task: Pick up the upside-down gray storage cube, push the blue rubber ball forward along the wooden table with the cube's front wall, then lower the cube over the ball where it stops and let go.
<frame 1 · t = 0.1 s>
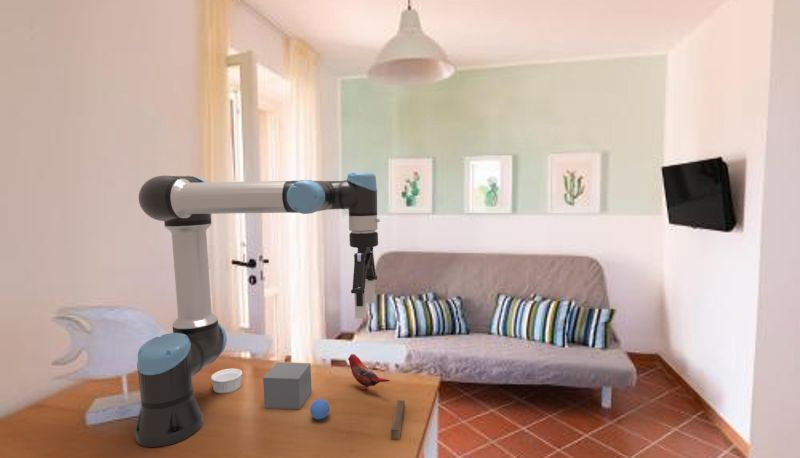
hand: (365, 310, 113), 28 cm above the table, tool pointing down, fingers open, 13 cm apart
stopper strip: (398, 423, 108), on the table
decorative bird figurine: (368, 392, 125), on the table
ramekin: (227, 388, 130), on the table
gray storage cube: (289, 399, 122), on the table
ball: (319, 409, 111), on the table
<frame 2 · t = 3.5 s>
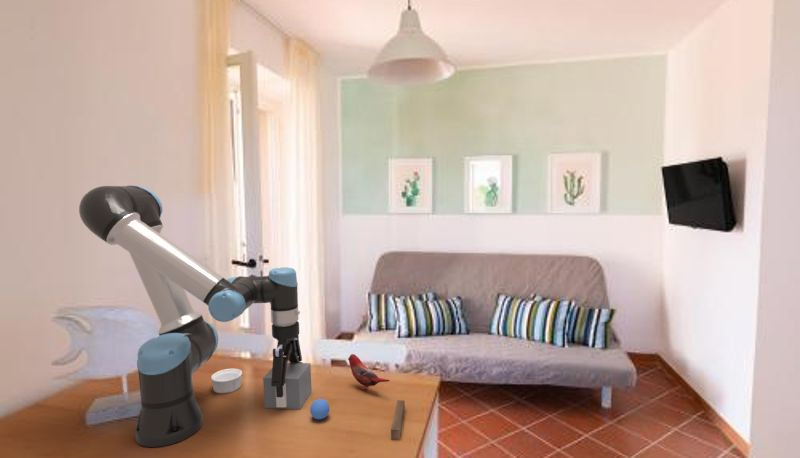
hand: (288, 396, 121), 1 cm above the table, tool pointing down, fingers closed on gray storage cube, 10 cm apart
gray storage cube: (289, 399, 122), on the table, touching gripper
everything else where it was.
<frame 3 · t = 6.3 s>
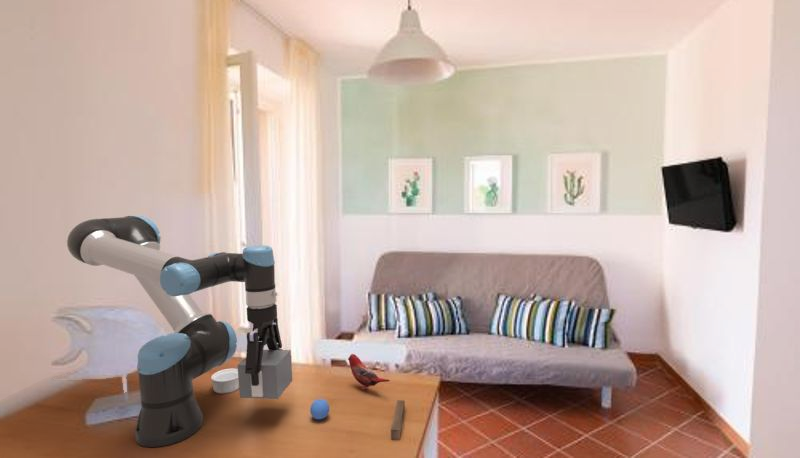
hand: (266, 386, 112), 8 cm above the table, tool pointing down, fingers closed on gray storage cube, 10 cm apart
gray storage cube: (267, 388, 112), point 8 cm above the table, touching gripper
everything else where it was.
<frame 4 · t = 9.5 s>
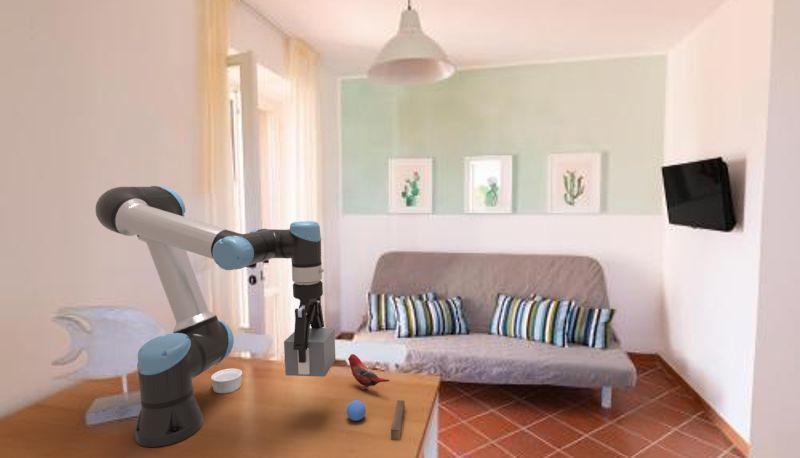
hand: (311, 364, 110), 15 cm above the table, tool pointing down, fingers closed on gray storage cube, 10 cm apart
gray storage cube: (311, 367, 110), point 14 cm above the table, touching gripper
ball: (356, 410, 110), on the table
everything else where it was.
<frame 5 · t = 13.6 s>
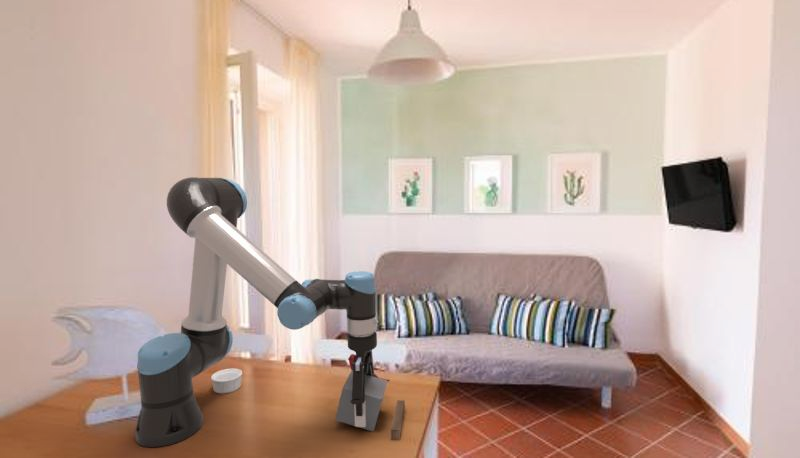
hand: (364, 414, 110), 2 cm above the table, tool pointing down, fingers closed on gray storage cube, 10 cm apart
gray storage cube: (358, 414, 110), point 1 cm above the table, tilted 15°, touching ball, gripper
ball: (351, 410, 110), on the table, touching gray storage cube
everything else where it was.
when the fingers open (2 cm above the table, at t = 14.0 s): gray storage cube drops 1 cm, on the table.
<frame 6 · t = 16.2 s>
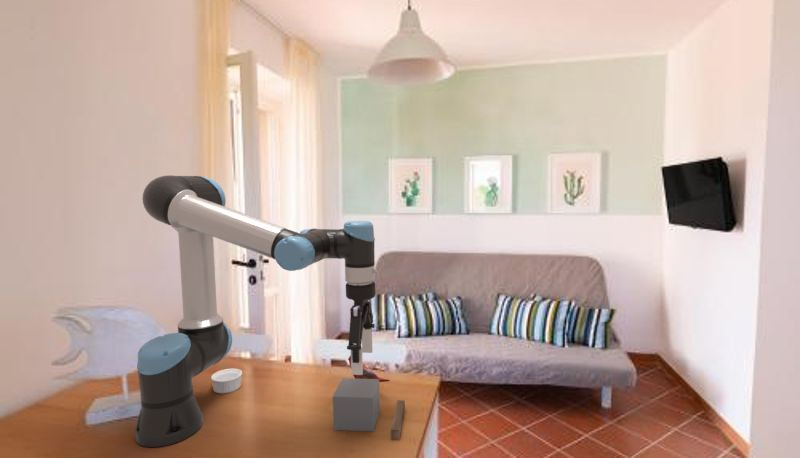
hand: (362, 362, 109), 16 cm above the table, tool pointing down, fingers open, 13 cm apart
gray storage cube: (357, 419, 110), on the table
ball: (351, 410, 110), on the table
everything else where it was.
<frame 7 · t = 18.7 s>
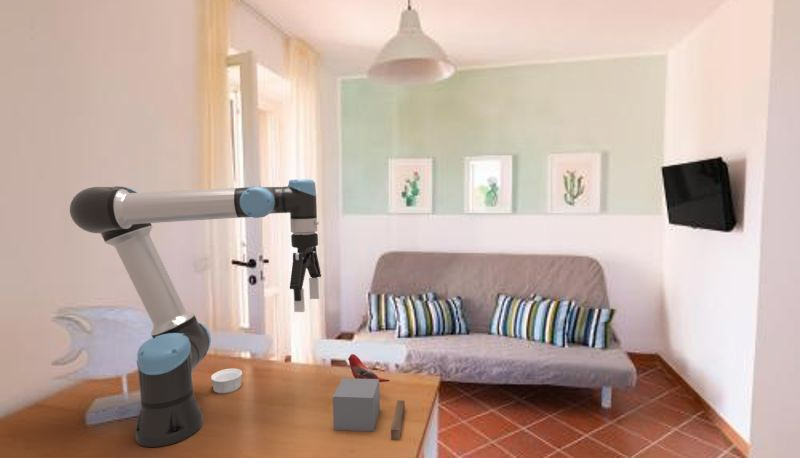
hand: (307, 304, 123), 27 cm above the table, tool pointing down, fingers open, 13 cm apart
nothing on the table moved.
at the end: ball 1.6 cm from the gray storage cube (horizontally); gray storage cube on the table; ball moved 8.6 cm from its start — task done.
